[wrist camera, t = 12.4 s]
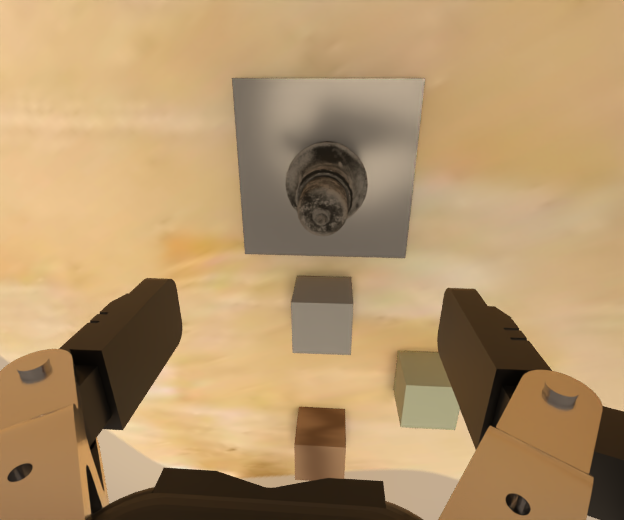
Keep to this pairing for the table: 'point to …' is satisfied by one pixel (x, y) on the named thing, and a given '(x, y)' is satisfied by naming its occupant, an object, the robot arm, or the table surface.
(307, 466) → the walnut block
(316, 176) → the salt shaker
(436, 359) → the sage block
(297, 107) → the grey tile
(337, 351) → the grey block
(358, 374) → the table surface
